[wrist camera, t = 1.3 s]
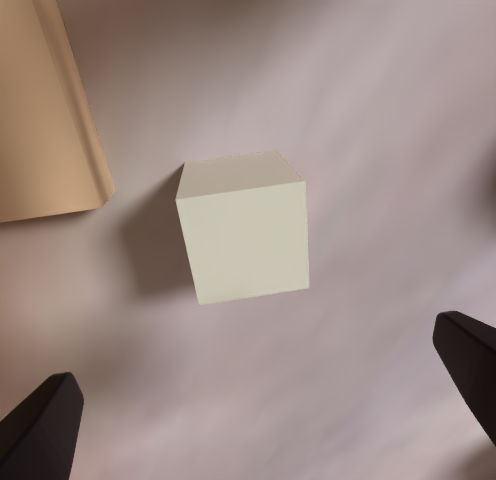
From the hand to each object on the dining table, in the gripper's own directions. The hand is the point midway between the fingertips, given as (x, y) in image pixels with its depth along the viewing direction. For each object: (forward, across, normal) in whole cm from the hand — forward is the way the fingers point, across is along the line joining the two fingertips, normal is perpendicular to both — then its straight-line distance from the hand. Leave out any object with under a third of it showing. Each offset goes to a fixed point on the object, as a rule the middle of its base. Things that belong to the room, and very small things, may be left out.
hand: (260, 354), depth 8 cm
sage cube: (+12, 0, 0) cm, 12 cm away
